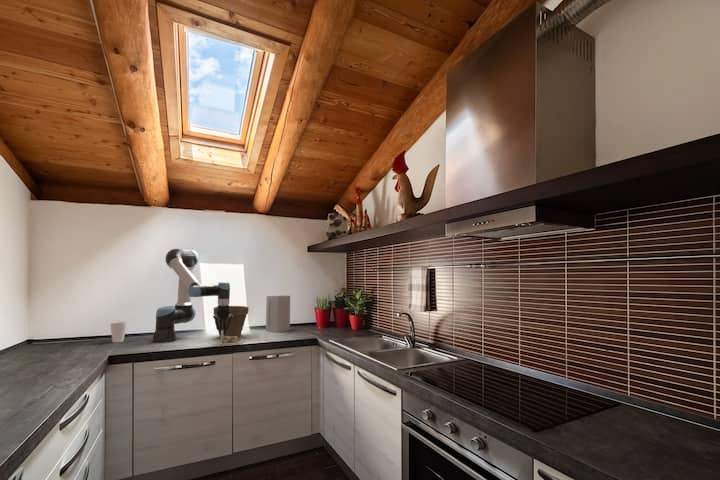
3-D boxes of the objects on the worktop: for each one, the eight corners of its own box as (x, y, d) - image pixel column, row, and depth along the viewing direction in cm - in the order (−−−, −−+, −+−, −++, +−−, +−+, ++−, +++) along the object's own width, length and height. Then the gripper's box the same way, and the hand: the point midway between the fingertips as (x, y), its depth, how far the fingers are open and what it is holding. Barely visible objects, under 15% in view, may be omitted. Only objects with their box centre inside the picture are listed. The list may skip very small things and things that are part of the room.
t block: (221, 344, 244) (222, 338, 244) (224, 341, 252) (225, 335, 252) (235, 343, 245) (235, 337, 245) (238, 341, 253) (238, 335, 253)
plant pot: (254, 335, 279) (255, 306, 280) (231, 340, 256) (231, 309, 258) (230, 332, 289) (230, 305, 291) (205, 337, 267) (206, 307, 269)
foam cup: (127, 341, 253) (128, 322, 254) (111, 343, 247) (112, 323, 248) (123, 339, 260) (124, 321, 261) (108, 341, 253) (109, 322, 254)
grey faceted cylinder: (267, 333, 287) (267, 297, 290) (265, 330, 301) (266, 296, 304) (291, 331, 293) (292, 296, 296) (289, 329, 307) (289, 295, 310)
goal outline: (219, 345, 241) (219, 343, 241) (224, 341, 254) (224, 340, 254) (241, 344, 243) (241, 343, 243) (244, 340, 256) (244, 339, 256)
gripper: (212, 305, 245) (210, 341, 243) (232, 305, 247) (230, 341, 245) (215, 304, 253) (213, 339, 251) (234, 304, 254) (233, 338, 252)
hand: (222, 340), depth 248 cm, fingers closed
